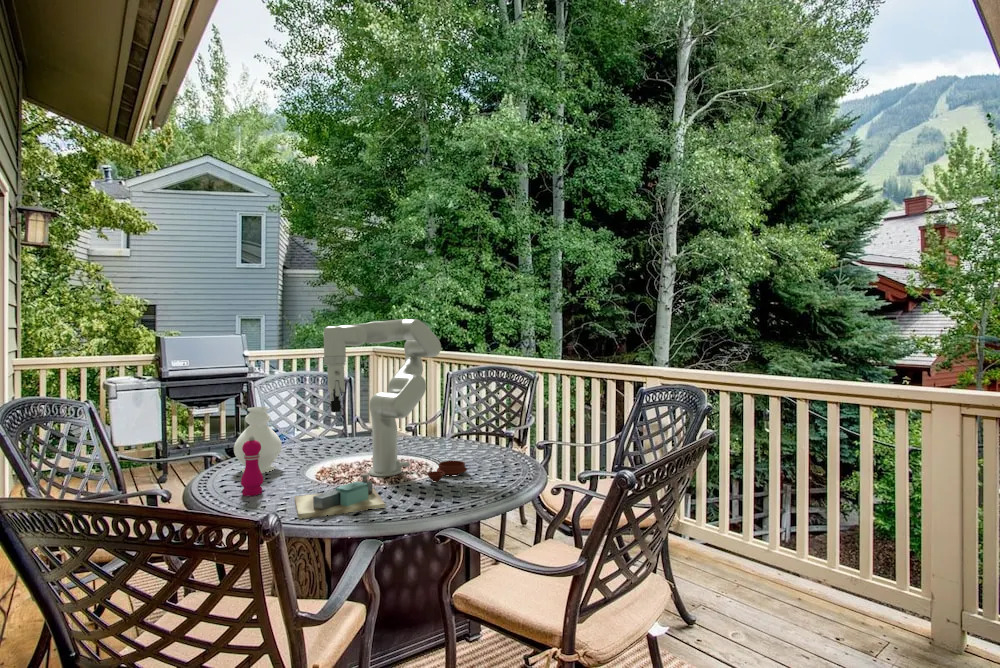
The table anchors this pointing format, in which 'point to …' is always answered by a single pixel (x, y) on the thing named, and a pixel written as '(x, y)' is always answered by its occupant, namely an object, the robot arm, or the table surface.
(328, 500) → the link
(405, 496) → the table surface
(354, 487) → the block
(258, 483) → the pepper mill
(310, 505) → the base board
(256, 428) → the decorative vase
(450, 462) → the pottery
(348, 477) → the table surface
